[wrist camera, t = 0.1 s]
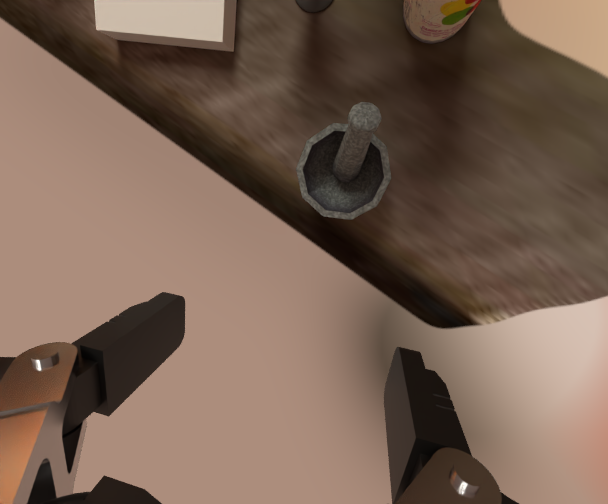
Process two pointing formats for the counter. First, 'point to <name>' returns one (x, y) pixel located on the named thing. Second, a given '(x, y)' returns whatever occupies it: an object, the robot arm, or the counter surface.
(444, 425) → the robot arm
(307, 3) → the sundae
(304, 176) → the mortar and pestle
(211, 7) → the cream board
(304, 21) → the counter surface
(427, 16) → the aerosol can
